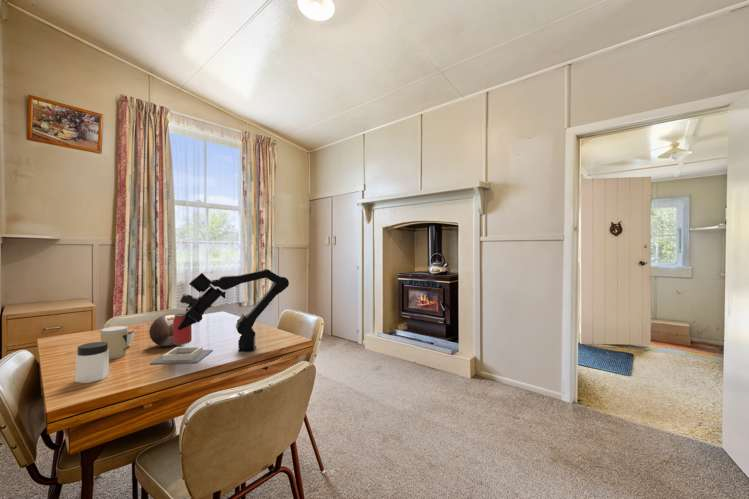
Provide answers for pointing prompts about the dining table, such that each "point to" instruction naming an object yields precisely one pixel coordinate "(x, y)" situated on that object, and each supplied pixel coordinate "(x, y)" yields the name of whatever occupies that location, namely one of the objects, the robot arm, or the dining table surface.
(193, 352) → the holder plate
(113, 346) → the coffee cup
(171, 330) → the brown ball
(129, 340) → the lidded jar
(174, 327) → the beer can
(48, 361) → the dining table surface
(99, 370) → the jar
